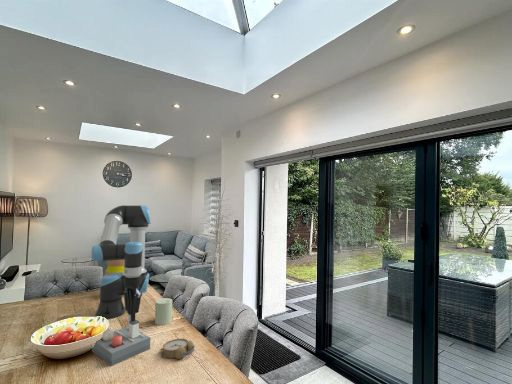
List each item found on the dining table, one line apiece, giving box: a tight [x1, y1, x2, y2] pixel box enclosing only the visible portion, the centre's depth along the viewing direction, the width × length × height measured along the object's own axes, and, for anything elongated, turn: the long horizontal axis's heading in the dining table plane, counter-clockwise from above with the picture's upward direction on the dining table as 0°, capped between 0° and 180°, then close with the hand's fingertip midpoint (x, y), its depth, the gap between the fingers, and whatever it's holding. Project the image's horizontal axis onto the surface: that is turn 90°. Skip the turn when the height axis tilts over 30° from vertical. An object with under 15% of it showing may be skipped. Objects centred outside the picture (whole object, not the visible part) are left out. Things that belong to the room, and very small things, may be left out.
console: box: [91, 326, 151, 366], centre depth 123 cm, size 19×17×6 cm
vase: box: [103, 260, 124, 298], centre depth 201 cm, size 22×22×30 cm
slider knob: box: [129, 319, 140, 339], centre depth 125 cm, size 3×3×7 cm
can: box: [154, 297, 173, 326], centre depth 153 cm, size 9×9×12 cm
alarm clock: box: [160, 338, 195, 360], centre depth 121 cm, size 11×5×15 cm
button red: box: [111, 335, 122, 348], centre depth 118 cm, size 4×4×4 cm
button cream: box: [102, 329, 114, 342], centre depth 123 cm, size 4×4×4 cm
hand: (131, 327), depth 126 cm, fingers closed
